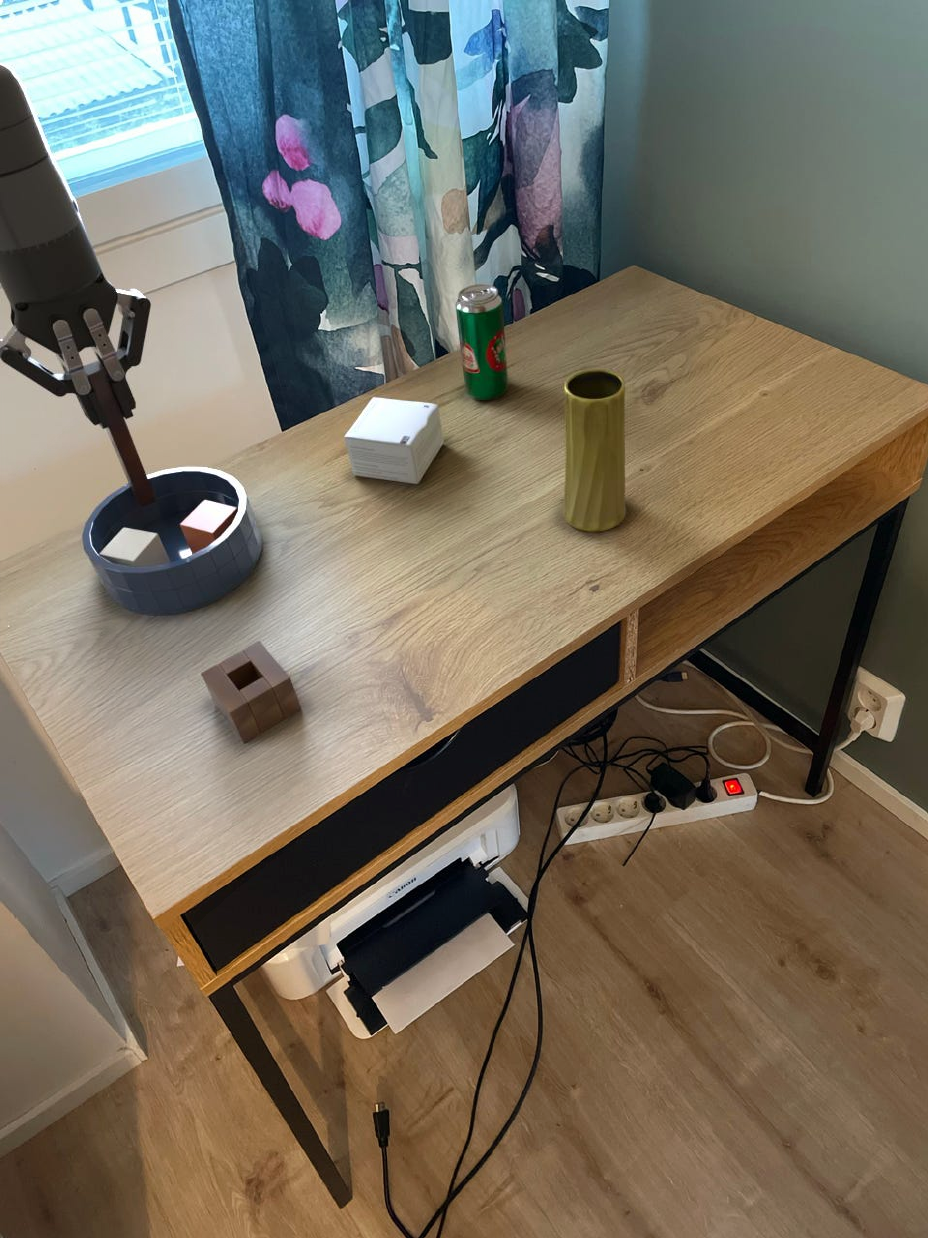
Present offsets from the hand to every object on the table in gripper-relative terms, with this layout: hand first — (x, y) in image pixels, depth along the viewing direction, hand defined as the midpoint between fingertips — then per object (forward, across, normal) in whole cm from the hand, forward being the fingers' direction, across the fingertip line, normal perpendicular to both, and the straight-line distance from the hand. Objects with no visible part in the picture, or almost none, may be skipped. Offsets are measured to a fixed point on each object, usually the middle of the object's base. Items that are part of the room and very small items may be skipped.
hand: (114, 418), depth 80 cm
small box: (+15, -25, +5) cm, 29 cm away
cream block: (+14, +4, +4) cm, 15 cm away
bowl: (+15, 0, +3) cm, 15 cm away
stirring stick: (+11, 0, -3) cm, 11 cm away
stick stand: (+15, +3, +25) cm, 30 cm away
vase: (+15, -34, +26) cm, 45 cm away
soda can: (+15, -40, +1) cm, 43 cm away
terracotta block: (+14, -4, +5) cm, 15 cm away
